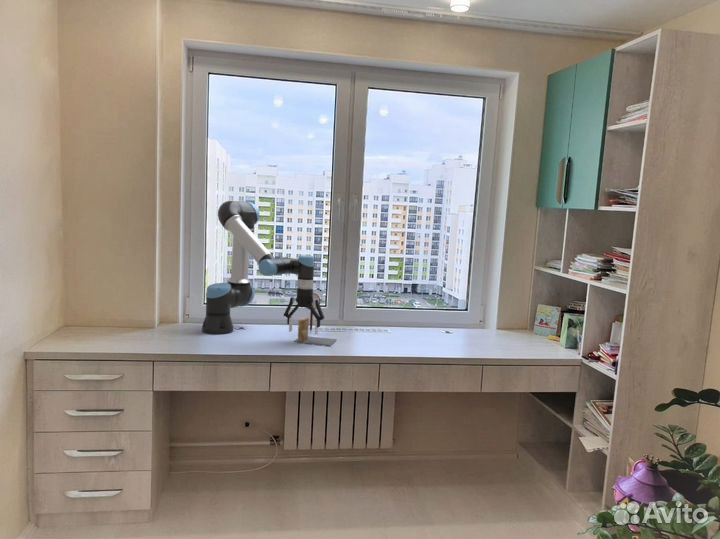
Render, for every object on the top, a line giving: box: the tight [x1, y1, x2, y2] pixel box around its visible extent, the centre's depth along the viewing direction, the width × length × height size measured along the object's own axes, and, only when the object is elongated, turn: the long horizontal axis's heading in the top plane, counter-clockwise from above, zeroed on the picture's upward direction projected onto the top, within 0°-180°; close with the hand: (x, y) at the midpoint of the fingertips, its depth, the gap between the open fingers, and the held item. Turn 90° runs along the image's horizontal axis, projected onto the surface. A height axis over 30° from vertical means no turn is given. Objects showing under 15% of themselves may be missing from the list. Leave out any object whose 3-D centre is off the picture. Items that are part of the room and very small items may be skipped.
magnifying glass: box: [307, 292, 322, 332], centre depth 268 cm, size 9×2×20 cm, turn 99°
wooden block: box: [297, 317, 310, 342], centre depth 249 cm, size 3×7×10 cm, turn 169°
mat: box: [293, 335, 338, 347], centre depth 249 cm, size 18×12×1 cm, turn 79°
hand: (303, 332), depth 249 cm, fingers open, 12 cm apart
